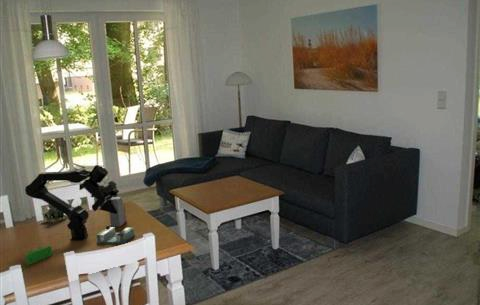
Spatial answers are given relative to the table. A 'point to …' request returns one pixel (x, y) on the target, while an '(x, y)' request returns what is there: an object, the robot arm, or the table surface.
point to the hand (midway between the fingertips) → (119, 211)
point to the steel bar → (117, 205)
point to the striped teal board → (115, 235)
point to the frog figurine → (54, 214)
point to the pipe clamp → (38, 254)
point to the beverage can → (124, 212)
